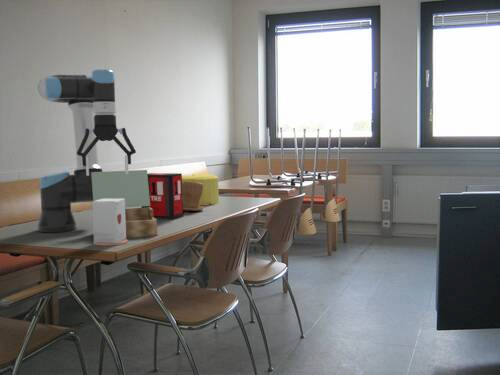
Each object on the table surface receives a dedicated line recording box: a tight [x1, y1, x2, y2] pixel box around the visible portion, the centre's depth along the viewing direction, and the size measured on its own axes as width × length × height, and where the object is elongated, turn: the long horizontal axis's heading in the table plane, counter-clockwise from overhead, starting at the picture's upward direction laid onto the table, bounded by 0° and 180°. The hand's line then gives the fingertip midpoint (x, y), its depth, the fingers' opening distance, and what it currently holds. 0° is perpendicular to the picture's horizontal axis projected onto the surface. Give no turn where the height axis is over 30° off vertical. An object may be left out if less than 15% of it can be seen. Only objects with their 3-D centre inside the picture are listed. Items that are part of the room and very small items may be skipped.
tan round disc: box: [93, 238, 129, 247], centre depth 210 cm, size 12×12×1 cm
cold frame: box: [125, 207, 158, 239], centre depth 226 cm, size 22×15×9 cm
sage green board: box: [91, 169, 150, 208], centre depth 234 cm, size 22×15×1 cm
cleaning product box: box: [140, 172, 184, 220], centre depth 267 cm, size 16×9×20 cm, turn 69°
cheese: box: [182, 173, 220, 206], centre depth 319 cm, size 26×26×15 cm
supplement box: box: [91, 199, 127, 243], centre depth 209 cm, size 9×9×15 cm
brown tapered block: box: [182, 181, 204, 212], centre depth 288 cm, size 15×12×15 cm
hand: (107, 174), depth 208 cm, fingers open, 13 cm apart
